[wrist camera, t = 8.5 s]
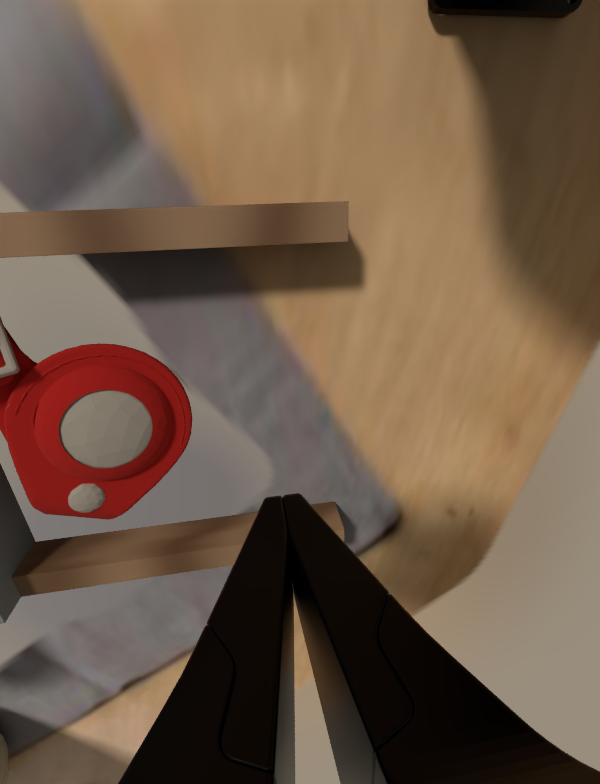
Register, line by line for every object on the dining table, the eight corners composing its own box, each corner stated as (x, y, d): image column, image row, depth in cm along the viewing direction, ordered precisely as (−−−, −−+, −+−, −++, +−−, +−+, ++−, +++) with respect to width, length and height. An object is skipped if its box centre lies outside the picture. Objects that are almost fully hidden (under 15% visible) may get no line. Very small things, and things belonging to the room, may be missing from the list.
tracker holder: (221, 369, 18) (161, 546, 19) (203, 356, 22) (154, 504, 23) (-113, 267, 12) (-179, 532, 13) (-58, 274, 16) (-112, 478, 17)
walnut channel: (334, 206, 17) (348, 201, 15) (334, 519, 24) (344, 548, 22) (-109, 221, 15) (-173, 218, 12) (43, 559, 22) (20, 596, 20)
